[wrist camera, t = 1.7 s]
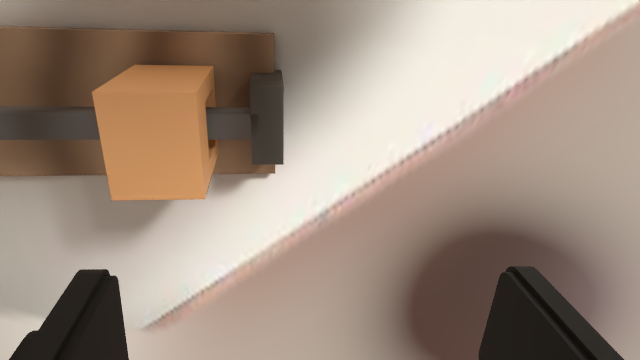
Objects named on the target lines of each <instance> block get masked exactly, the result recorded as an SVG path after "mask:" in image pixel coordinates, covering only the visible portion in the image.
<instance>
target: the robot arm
mask: <svg viewBox="0 0 640 360" xmlns="http://www.w3.org/2000/svg"><path fill="white" fill-rule="evenodd" d="M9 360H129V359H128V351H127V343H126V336H125V328H124V321H123V313H122V306H121V298H120V291H119V283H118V278H117V277H116V276H110V274H109V271H108V270H106V269H103V270H79V271H78V272H77V273H76V275H75V276H74V278H73V279H72V281H71V282H70V284H69V285H68V287H67V288H66V290H65V291H64V293H63V294H62V296H61V297H60V299H59V300H58V302H57V303H56V305H55V306H54V308H53V309H52V311H51V312H50V314H49V315H48V317H47V318H46V320H45V321H44V323H43V324H42V326H41V327H40V329H39V330H38V331H32V332H30V333H28V334H27V335H26V337H25V338H24V339H23V340H22V342H21V343H20V345H19V346H18V347H17V349H16V351H15V352H14V353H13V355H12V356H11V358H10V359H9ZM479 360H624V359H623V358H622V357H621V356H620V355H619V354H618V353H617V352H616V351H615V350H614V349H613V348H612V347H611V346H610V345H609V344H608V343H607V341H605V339H604V338H603V337H602V336H601V335H600V334H599V333H598V332H597V331H596V330H595V329H594V328H593V327H592V326H591V325H590V324H589V323H588V322H587V321H586V320H585V319H584V318H583V317H582V316H581V315H580V314H579V313H578V312H577V311H576V309H575V308H573V306H572V305H571V304H570V303H569V302H568V301H567V300H566V299H565V298H564V297H563V296H562V295H561V294H560V293H559V292H558V291H557V290H556V289H555V288H554V287H553V286H552V285H551V284H550V283H549V282H548V281H547V280H546V278H545V277H544V276H543V275H542V274H541V273H540V272H539V271H538V270H537V269H535V268H534V267H531V266H516V267H515V266H513V267H512V266H511V267H508V268H507V270H506V272H503V273H502V274H501V275H500V277H499V281H498V284H497V288H496V292H495V295H494V299H493V303H492V306H491V310H490V314H489V317H488V321H487V324H486V328H485V332H484V335H483V339H482V343H481V346H480V350H479Z"/></svg>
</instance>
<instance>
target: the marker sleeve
mask: <svg viewBox="0 0 640 360" xmlns="http://www.w3.org/2000/svg"><path fill="white" fill-rule="evenodd" d="M92 95H93V101H94V107H95V112H96V118H97V123H98V129H99V134H100V140H101V145H102V151H103V156H104V162H105V167H106V173H107V179H108V184H109V190H110V195H111V201H117V200H180V199H205V197H206V193H207V190H208V186H209V183H210V180H211V176H212V173H213V169H214V166H215V162H216V159H217V156H218V152H219V146H218V139H216V140H208V134H207V121H206V107H216V99H215V83H214V68H213V66H184V65H133V66H132V67H130V68H129V69H127V70H126V71H124V72H122V73H121V74H119V75H118V76H116V77H114V78H113V79H111V80H110V81H108V82H107V83H105V84H103V85H102V86H100V87H99V88H97V89H96V90H94V91H92Z"/></svg>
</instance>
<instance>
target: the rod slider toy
mask: <svg viewBox="0 0 640 360" xmlns="http://www.w3.org/2000/svg"><path fill="white" fill-rule="evenodd" d="M133 65H184V66H213V68H214V83H215V99H216V107H206V121H207V134H208V140H216V139H218V146H219V152H218V156H217V159H216V162H215V166H214V169H213V173H212V174H259V173H275V164H283V81H282V73H281V70H274V33H243V32H203V31H163V30H123V29H83V28H43V27H3V26H0V176H55V175H107V173H106V167H105V162H104V156H103V151H102V145H101V140H100V134H99V129H98V123H97V118H96V112H95V107H94V101H93V95H92V91H94V90H96V89H97V88H99V87H100V86H102V85H103V84H105V83H107V82H108V81H110V80H111V79H113V78H114V77H116V76H118V75H119V74H121V73H122V72H124V71H126V70H127V69H129V68H130V67H132V66H133Z"/></svg>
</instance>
